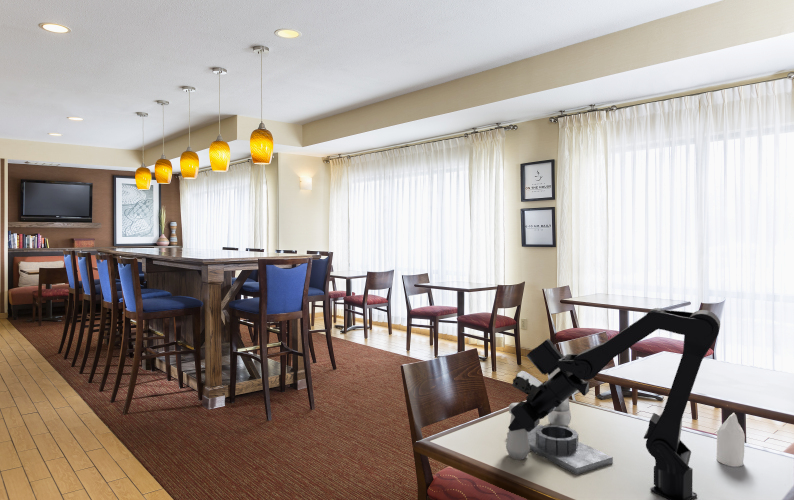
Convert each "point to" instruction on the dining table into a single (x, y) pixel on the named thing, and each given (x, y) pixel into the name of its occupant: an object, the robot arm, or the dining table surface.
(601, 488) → the dining table surface
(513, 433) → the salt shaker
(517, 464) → the dining table surface
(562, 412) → the plastic bottle
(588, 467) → the plate with ring
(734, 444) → the white pointed cylinder
